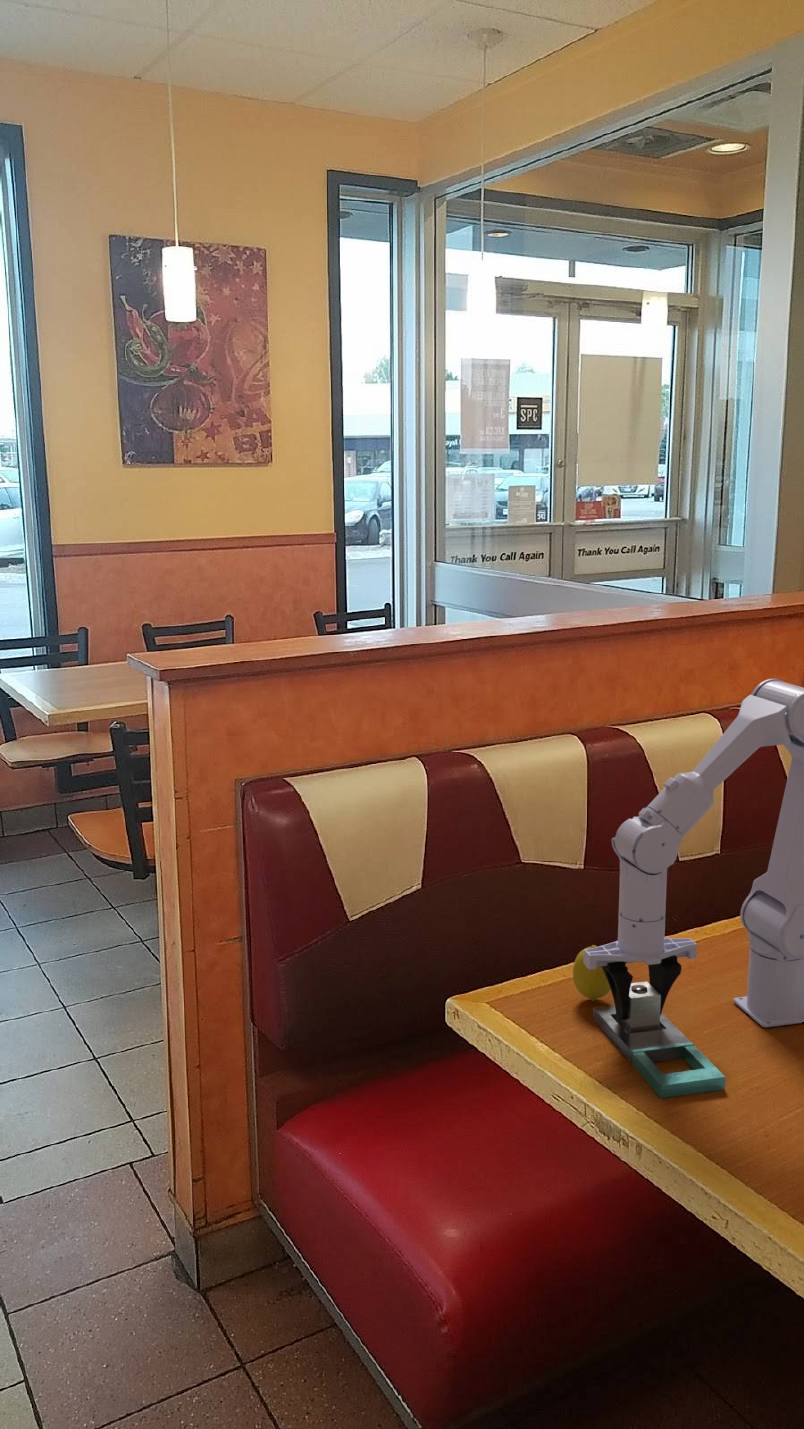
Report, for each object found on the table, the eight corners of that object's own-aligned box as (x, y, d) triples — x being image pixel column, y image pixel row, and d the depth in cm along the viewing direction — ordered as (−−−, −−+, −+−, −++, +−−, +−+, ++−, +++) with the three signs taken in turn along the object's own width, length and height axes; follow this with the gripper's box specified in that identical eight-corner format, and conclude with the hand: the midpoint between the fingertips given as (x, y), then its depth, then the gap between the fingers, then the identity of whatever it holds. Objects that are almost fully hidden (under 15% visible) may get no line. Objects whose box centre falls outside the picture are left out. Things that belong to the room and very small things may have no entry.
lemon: (613, 1011, 150) (614, 955, 149) (571, 1008, 151) (572, 952, 150) (614, 993, 155) (615, 938, 154) (573, 990, 157) (574, 936, 155)
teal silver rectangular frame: (649, 1012, 150) (650, 1000, 150) (724, 1089, 131) (725, 1075, 130) (593, 1018, 148) (593, 1007, 148) (661, 1098, 129) (661, 1084, 129)
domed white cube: (645, 1024, 147) (647, 979, 145) (659, 1038, 143) (660, 993, 142) (616, 1027, 146) (618, 983, 144) (629, 1042, 142) (631, 996, 141)
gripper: (600, 931, 136) (597, 1035, 138) (710, 919, 139) (705, 1021, 141) (578, 910, 142) (575, 1009, 145) (683, 899, 145) (679, 997, 148)
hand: (638, 1014), depth 144 cm, fingers closed on domed white cube, 4 cm apart
